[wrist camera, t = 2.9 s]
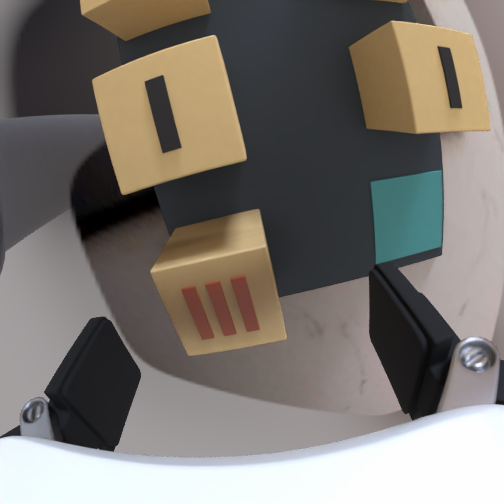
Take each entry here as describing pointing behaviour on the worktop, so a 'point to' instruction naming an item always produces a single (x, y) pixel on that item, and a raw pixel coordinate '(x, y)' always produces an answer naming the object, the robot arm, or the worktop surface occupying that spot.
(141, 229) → the worktop surface
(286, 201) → the grey board with cubes
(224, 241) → the striped wooden cube
